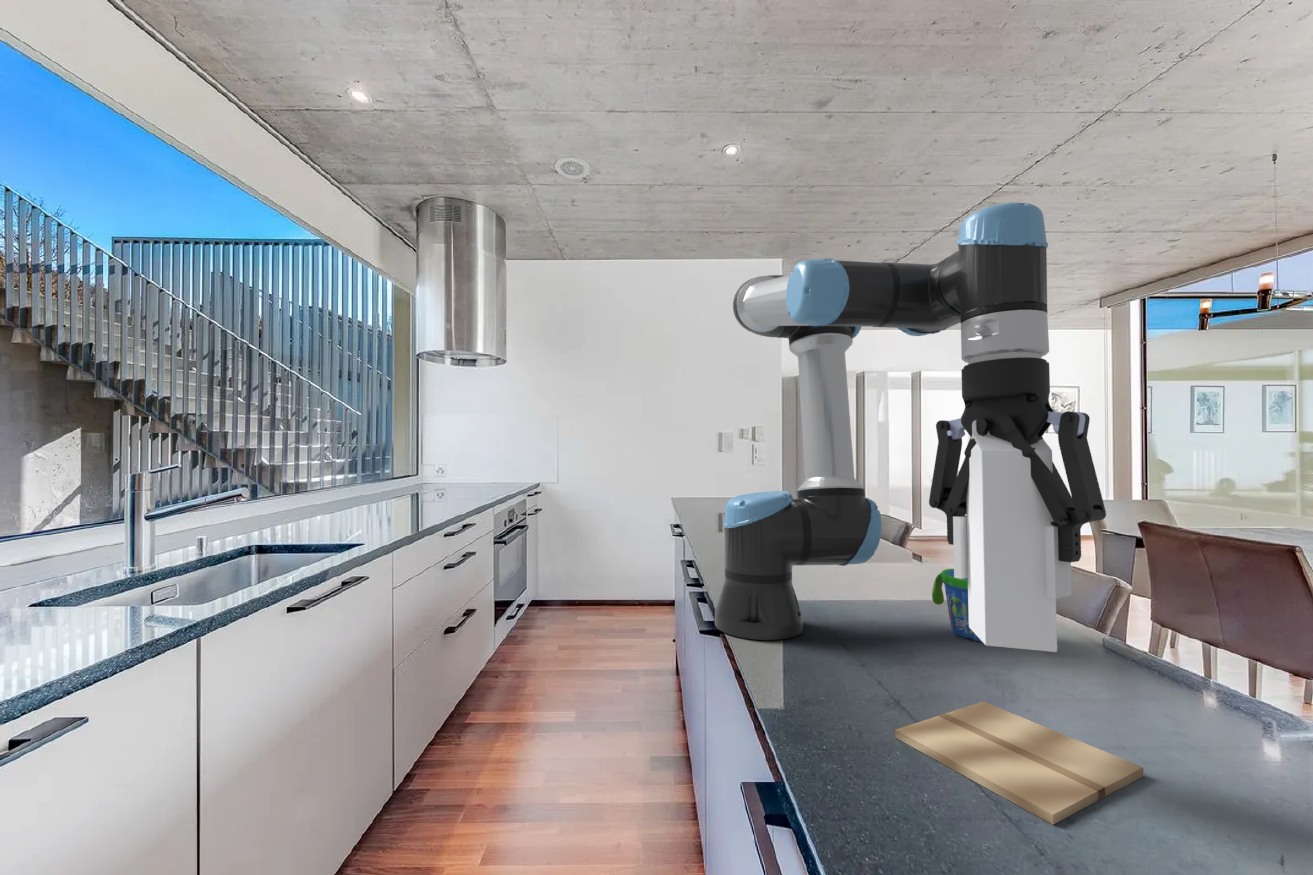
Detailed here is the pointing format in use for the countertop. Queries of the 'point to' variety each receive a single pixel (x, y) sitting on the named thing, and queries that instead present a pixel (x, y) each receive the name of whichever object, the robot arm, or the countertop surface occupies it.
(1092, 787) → the flat cardboard box
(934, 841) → the countertop surface
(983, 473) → the milk
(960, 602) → the snack cup
